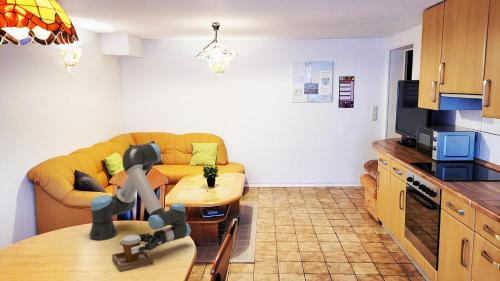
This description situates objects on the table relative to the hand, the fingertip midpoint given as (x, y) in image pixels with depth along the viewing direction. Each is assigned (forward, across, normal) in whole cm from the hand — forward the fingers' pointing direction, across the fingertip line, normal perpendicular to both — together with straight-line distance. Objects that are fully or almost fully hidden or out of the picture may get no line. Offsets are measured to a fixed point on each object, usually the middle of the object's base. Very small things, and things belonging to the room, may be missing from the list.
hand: (125, 247), depth 201 cm
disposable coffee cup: (-3, 0, -8) cm, 9 cm away
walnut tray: (-3, 0, -9) cm, 9 cm away
